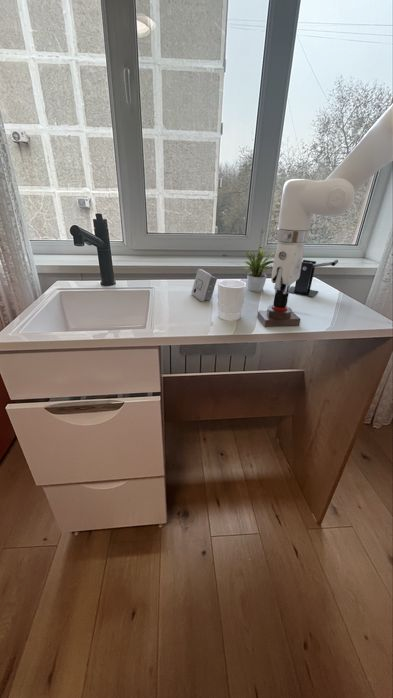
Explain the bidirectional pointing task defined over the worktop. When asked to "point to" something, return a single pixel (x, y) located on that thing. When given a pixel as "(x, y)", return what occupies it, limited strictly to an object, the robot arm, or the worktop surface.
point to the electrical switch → (203, 285)
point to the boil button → (279, 309)
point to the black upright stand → (305, 280)
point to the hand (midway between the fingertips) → (279, 306)
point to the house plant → (257, 270)
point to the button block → (278, 318)
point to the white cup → (230, 299)
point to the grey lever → (325, 264)
